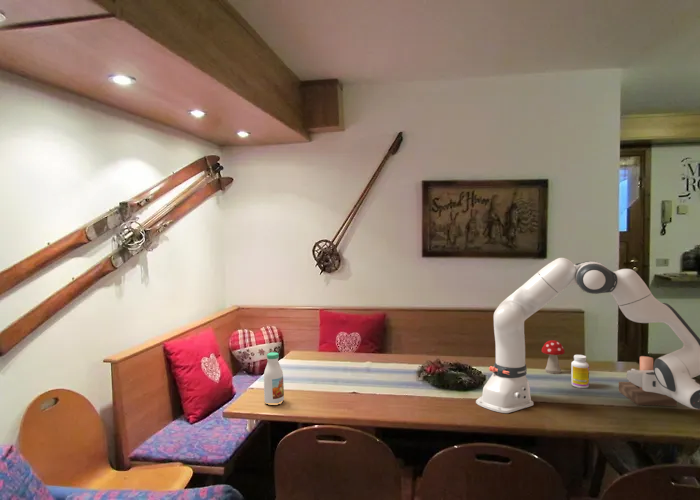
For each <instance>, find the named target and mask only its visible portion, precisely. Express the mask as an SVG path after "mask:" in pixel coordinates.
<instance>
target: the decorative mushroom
mask: <svg viewBox="0 0 700 500" xmlns="http://www.w3.org/2000/svg"><path fill="white" fill-rule="evenodd" d="M565 352H566V351H565V348H564V347H563V345H562V343H561V342H559V341H558V340H555V339H554V340H553V339H551V340H547V341H546V342H545V343H543V346H542V347H541V353H543V354H545V355H548V358H547V363H546V367H545V368H544V369H545V372H546V373H547V374H551V375H558V374H561V372H562V369H561V366H560V362H559V357H558V356H561V355H564V354H566V353H565Z"/></svg>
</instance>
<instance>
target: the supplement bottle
mask: <svg viewBox="0 0 700 500" xmlns="http://www.w3.org/2000/svg"><path fill="white" fill-rule="evenodd" d="M586 360H587V356H586V355H583V354H574V355H573V361H571V365H570V368H571V370H570V371H571V372H570V377H571V379H570V380H571V382H570V383H571V385H572V386H573V388H574V387H575V388H578V389H587V388H589V387H590V369H589V368H590V365H589V363H588V362H587V361H586Z"/></svg>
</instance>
